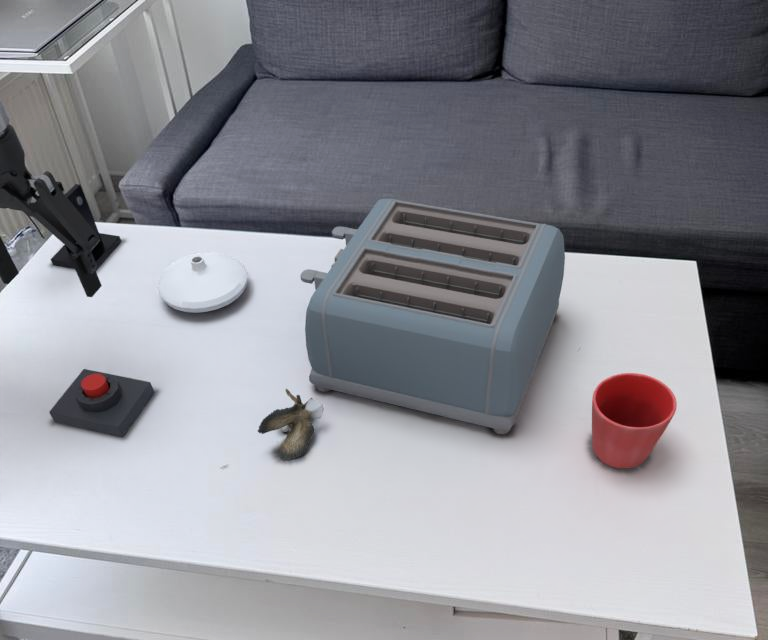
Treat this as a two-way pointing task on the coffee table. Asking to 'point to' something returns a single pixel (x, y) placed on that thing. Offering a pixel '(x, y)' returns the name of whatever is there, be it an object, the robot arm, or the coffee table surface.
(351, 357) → the toaster
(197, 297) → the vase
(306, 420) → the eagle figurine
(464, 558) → the coffee table surface
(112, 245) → the bracket
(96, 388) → the button
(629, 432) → the flower pot
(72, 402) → the control block
